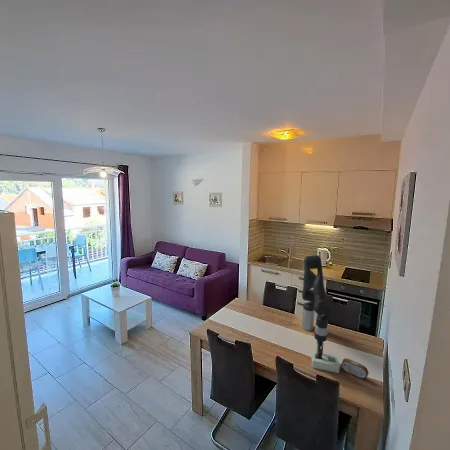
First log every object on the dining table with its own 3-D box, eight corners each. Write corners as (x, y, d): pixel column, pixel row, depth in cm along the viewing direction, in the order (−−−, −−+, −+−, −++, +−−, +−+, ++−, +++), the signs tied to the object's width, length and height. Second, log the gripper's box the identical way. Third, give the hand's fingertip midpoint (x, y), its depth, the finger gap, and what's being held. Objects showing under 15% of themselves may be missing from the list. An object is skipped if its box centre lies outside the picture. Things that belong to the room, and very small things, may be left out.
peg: (315, 361, 168) (316, 348, 166) (320, 362, 167) (321, 349, 166) (315, 364, 165) (317, 351, 164) (320, 365, 164) (321, 352, 163)
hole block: (311, 357, 172) (312, 350, 171) (336, 362, 168) (337, 355, 167) (312, 367, 163) (312, 360, 162) (338, 373, 158) (339, 366, 157)
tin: (367, 378, 154) (369, 366, 152) (366, 382, 152) (368, 369, 150) (341, 367, 163) (343, 355, 162) (340, 369, 161) (341, 358, 160)
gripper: (314, 325, 170) (312, 346, 173) (315, 337, 157) (313, 360, 160) (326, 327, 168) (324, 348, 171) (328, 339, 155) (326, 362, 157)
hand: (319, 354), depth 165 cm, fingers open, 8 cm apart
